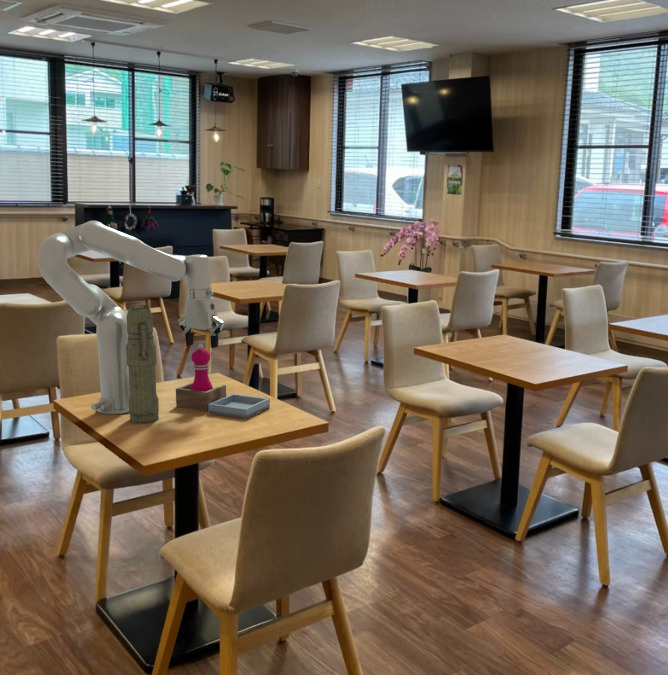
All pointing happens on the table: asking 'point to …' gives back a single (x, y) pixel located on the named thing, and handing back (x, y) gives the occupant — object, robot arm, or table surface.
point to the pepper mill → (201, 370)
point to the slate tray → (238, 406)
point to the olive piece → (141, 366)
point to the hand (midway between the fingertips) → (202, 346)
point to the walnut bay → (198, 397)
